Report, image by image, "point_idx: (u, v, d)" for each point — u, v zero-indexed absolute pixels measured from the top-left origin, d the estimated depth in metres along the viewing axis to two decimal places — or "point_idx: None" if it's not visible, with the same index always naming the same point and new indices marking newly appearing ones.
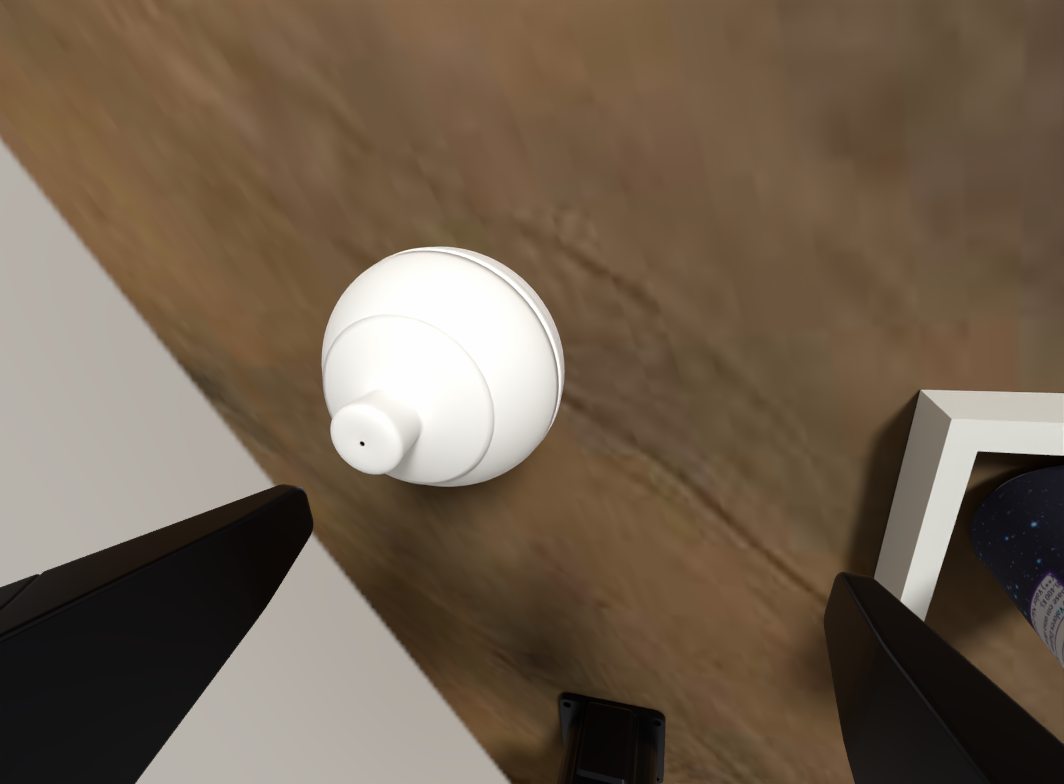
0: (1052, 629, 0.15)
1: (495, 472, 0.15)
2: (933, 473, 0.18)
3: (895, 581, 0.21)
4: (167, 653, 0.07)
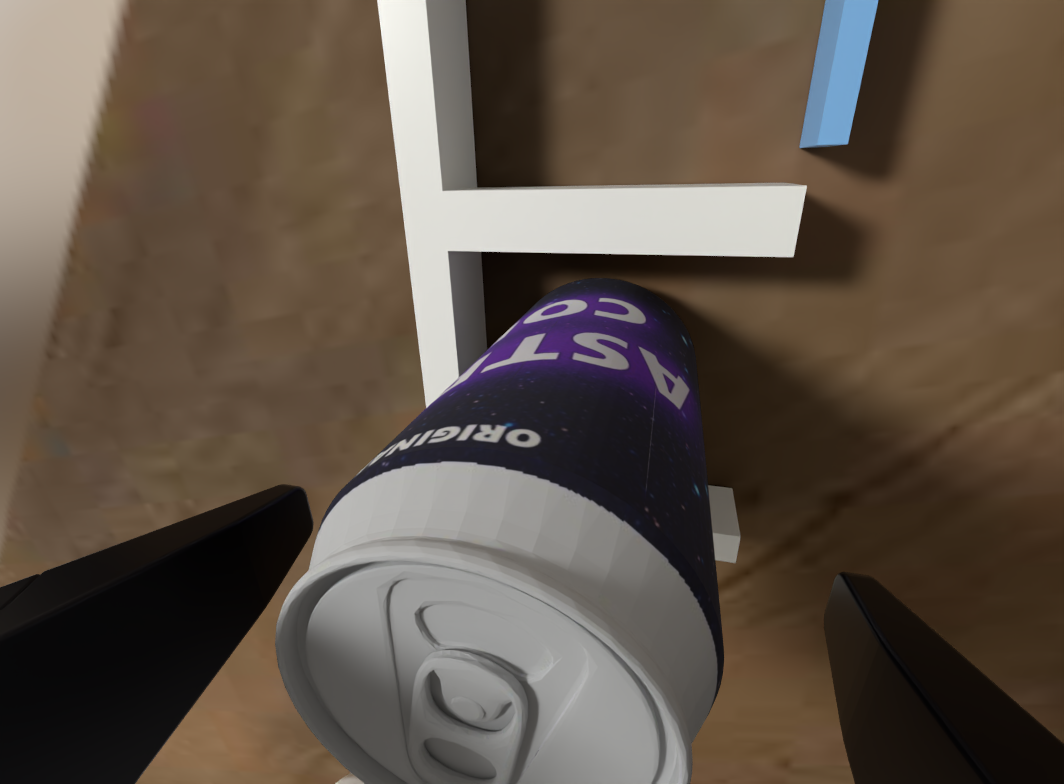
0: None
1: None
2: None
3: None
4: (167, 652, 0.07)
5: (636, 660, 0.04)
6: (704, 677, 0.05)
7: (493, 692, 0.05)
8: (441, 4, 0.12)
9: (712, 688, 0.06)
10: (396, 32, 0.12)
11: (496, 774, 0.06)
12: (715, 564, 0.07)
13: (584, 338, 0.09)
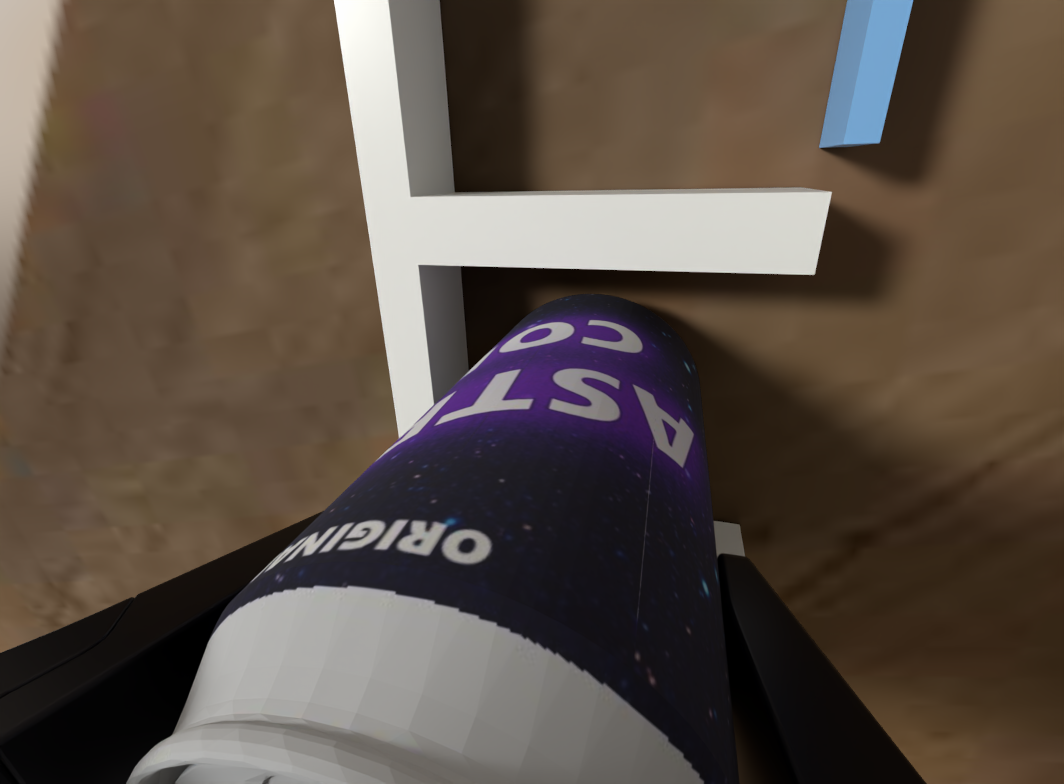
0: None
1: None
2: None
3: None
4: None
5: None
6: None
7: None
8: None
9: None
10: (354, 13, 0.10)
11: None
12: None
13: (566, 377, 0.08)
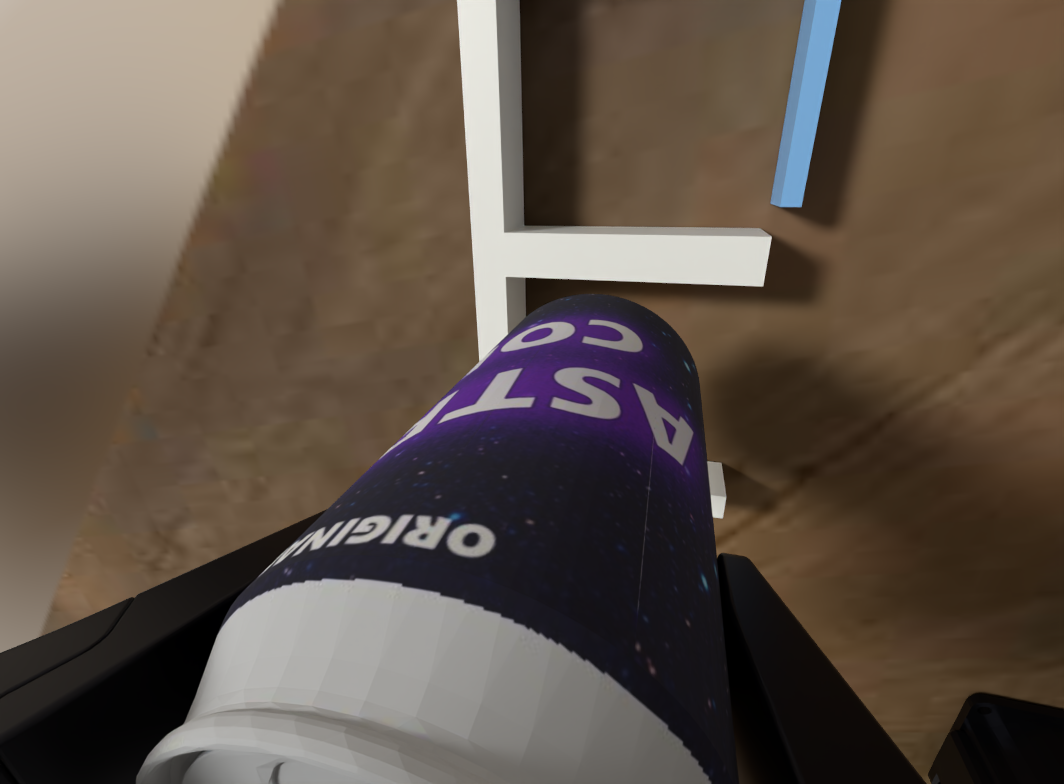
0: None
1: None
2: None
3: None
4: None
5: None
6: None
7: None
8: (507, 98, 0.16)
9: None
10: (476, 120, 0.16)
11: None
12: (728, 681, 0.05)
13: (567, 377, 0.08)
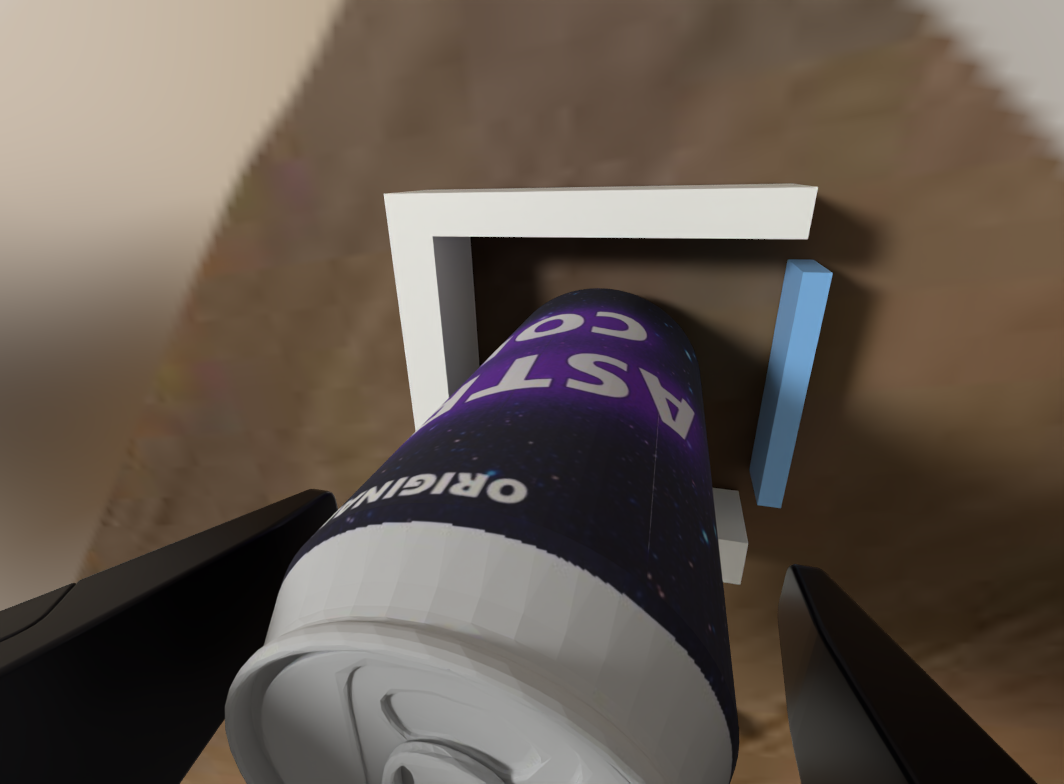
0: None
1: None
2: None
3: None
4: (202, 662, 0.07)
5: (639, 777, 0.04)
6: (717, 771, 0.05)
7: None
8: (458, 369, 0.15)
9: (726, 778, 0.05)
10: (424, 399, 0.14)
11: None
12: (726, 621, 0.06)
13: (579, 361, 0.08)
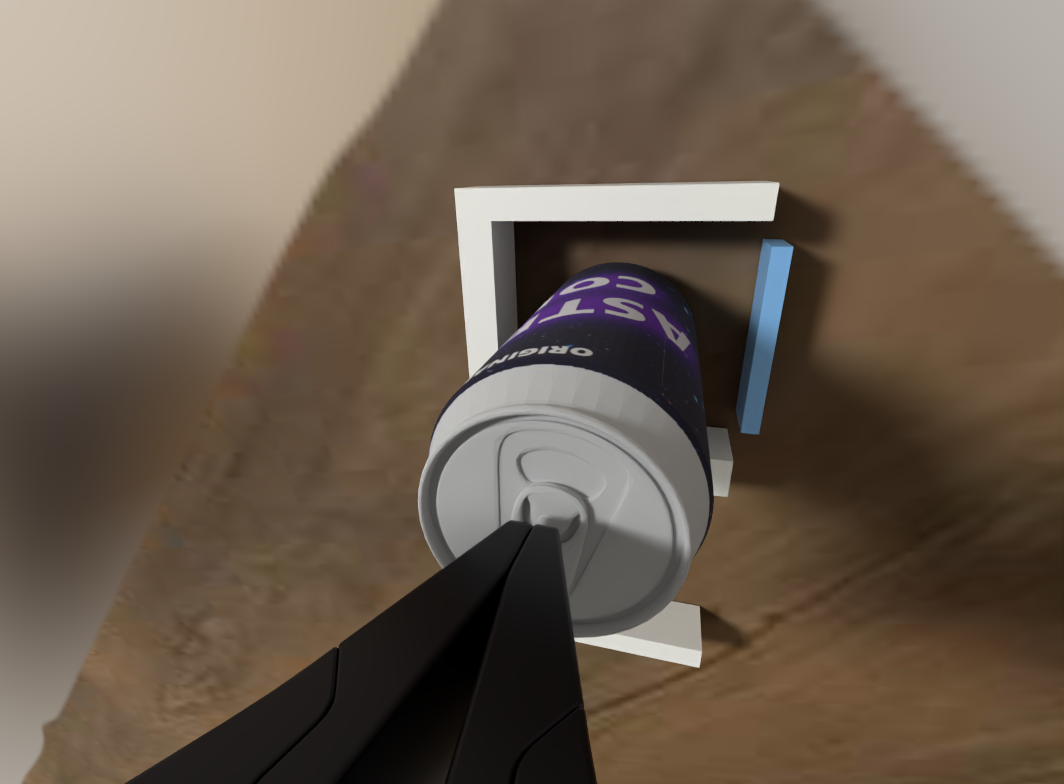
0: None
1: None
2: None
3: None
4: (449, 730, 0.06)
5: (658, 468, 0.08)
6: (700, 500, 0.09)
7: (567, 506, 0.08)
8: (504, 329, 0.19)
9: (706, 513, 0.09)
10: (477, 351, 0.18)
11: None
12: None
13: (610, 301, 0.12)
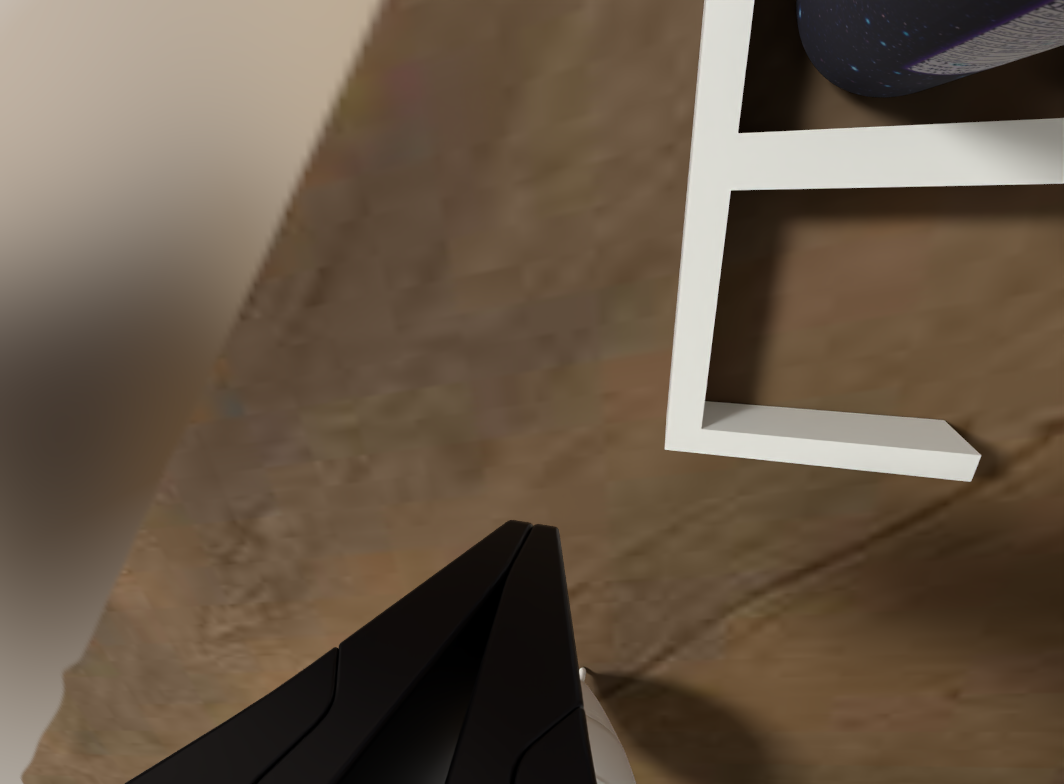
0: (1003, 62, 0.10)
1: None
2: (729, 453, 0.18)
3: None
4: (448, 730, 0.06)
5: None
6: None
7: None
8: None
9: None
10: None
11: None
12: None
13: None
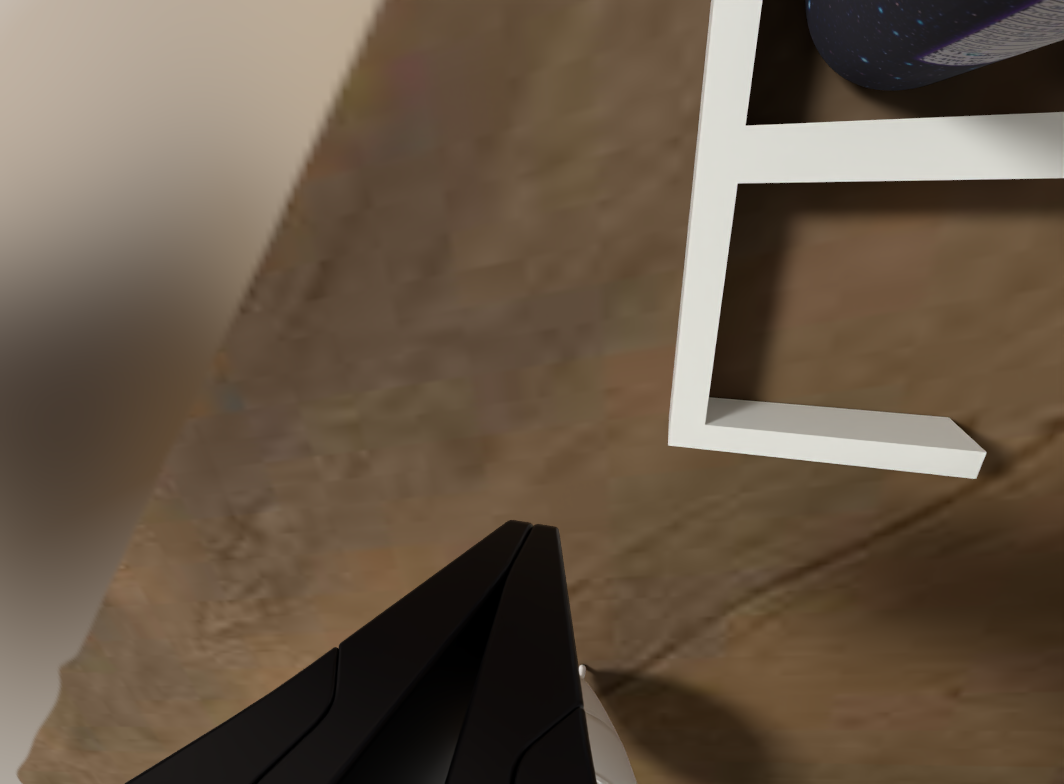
0: (1018, 52, 0.10)
1: None
2: (733, 449, 0.18)
3: None
4: (448, 731, 0.06)
5: None
6: None
7: None
8: None
9: None
10: None
11: None
12: None
13: None
